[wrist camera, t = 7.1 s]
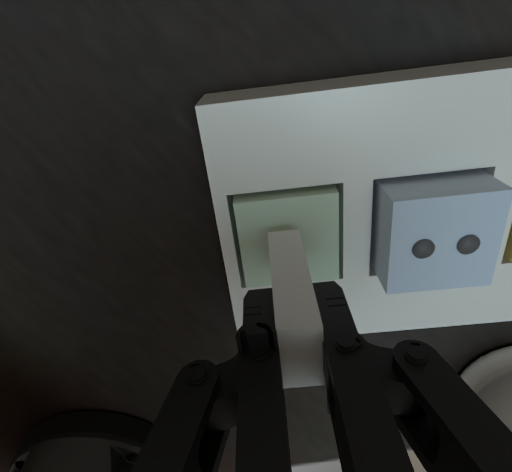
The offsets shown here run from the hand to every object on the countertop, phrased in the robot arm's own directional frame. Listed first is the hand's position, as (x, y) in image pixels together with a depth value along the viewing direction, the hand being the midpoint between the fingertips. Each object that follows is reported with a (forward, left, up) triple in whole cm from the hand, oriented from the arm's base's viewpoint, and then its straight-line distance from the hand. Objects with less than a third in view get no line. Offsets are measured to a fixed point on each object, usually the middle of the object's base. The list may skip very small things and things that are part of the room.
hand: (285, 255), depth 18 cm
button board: (+7, 0, -5) cm, 9 cm away
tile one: (0, 0, -4) cm, 4 cm away
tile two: (+7, 0, -2) cm, 8 cm away
